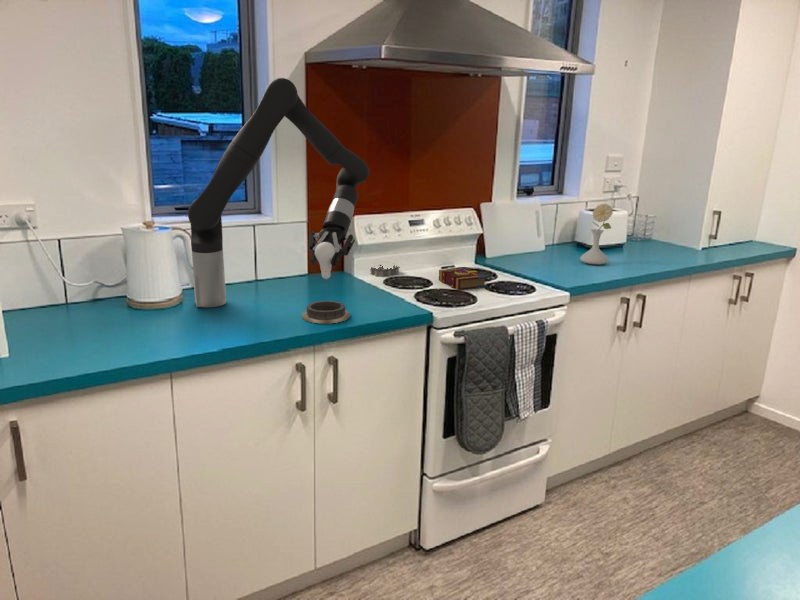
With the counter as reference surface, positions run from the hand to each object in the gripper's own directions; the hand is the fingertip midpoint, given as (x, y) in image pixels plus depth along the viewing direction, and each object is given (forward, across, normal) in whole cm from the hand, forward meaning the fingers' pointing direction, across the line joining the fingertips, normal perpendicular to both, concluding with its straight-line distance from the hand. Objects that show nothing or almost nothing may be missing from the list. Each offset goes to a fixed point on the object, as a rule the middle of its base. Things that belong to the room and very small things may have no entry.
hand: (323, 264), depth 185 cm
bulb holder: (+11, 0, +12) cm, 16 cm away
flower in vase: (-62, +72, +87) cm, 129 cm away
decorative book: (-26, +28, +50) cm, 63 cm away
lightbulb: (+2, 0, +5) cm, 5 cm away
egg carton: (-28, -2, +52) cm, 59 cm away
